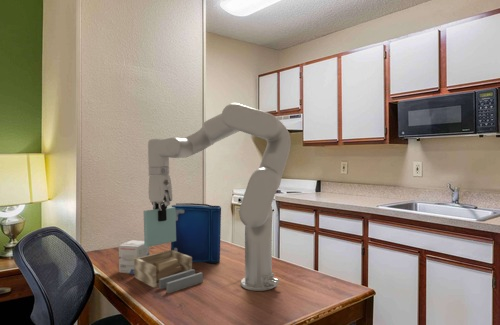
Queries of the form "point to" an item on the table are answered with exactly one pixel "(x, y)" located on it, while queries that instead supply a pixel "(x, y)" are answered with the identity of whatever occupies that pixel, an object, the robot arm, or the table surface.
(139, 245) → the ink box
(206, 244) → the book
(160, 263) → the offcut top
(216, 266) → the table surface
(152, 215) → the sheet
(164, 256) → the bin
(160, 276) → the offcut low
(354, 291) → the table surface
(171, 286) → the stand
